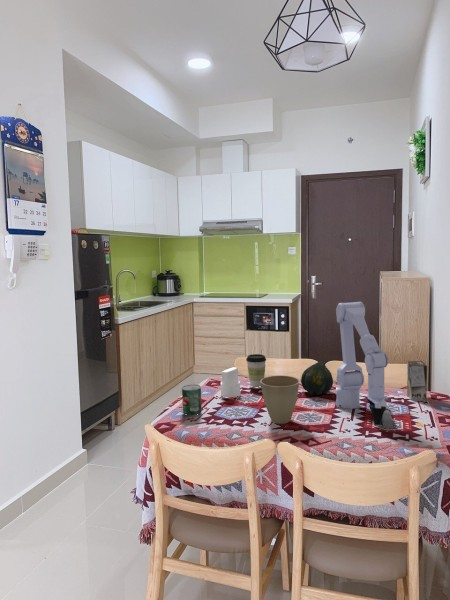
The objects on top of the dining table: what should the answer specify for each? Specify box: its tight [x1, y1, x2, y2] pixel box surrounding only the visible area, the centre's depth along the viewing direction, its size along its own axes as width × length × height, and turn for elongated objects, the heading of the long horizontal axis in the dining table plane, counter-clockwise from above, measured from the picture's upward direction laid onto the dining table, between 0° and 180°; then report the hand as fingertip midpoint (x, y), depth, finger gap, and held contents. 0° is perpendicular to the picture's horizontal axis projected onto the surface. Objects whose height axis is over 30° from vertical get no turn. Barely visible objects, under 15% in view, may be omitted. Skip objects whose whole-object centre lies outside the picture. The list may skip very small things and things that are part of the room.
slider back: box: [381, 399, 389, 411], centre depth 180 cm, size 3×10×3 cm, turn 167°
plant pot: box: [260, 374, 300, 425], centre depth 177 cm, size 15×15×16 cm
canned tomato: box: [181, 384, 203, 416], centre depth 190 cm, size 8×8×11 cm
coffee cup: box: [245, 353, 267, 387], centre depth 224 cm, size 10×10×15 cm
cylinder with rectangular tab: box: [220, 366, 241, 398], centre depth 211 cm, size 9×9×12 cm
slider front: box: [381, 410, 394, 429], centre depth 168 cm, size 3×10×3 cm, turn 167°
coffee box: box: [406, 360, 428, 402], centre depth 195 cm, size 9×6×16 cm
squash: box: [300, 361, 334, 396], centre depth 211 cm, size 14×15×15 cm
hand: (376, 420), depth 169 cm, fingers open, 7 cm apart
